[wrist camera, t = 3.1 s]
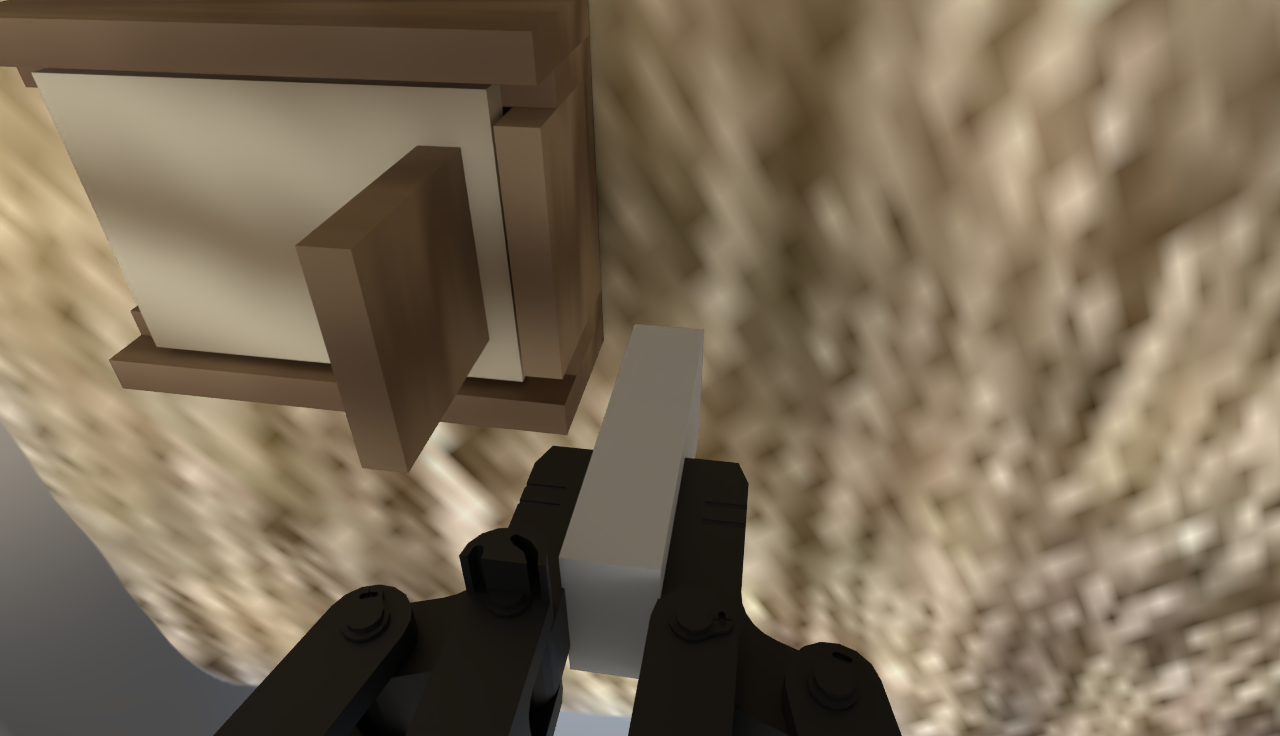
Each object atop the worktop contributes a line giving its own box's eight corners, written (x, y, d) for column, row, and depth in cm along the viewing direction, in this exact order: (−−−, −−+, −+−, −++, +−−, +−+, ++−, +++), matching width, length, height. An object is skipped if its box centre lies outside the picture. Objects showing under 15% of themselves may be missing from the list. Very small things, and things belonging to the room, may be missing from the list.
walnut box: (96, -19, 24) (-66, 16, 19) (587, -11, 22) (531, 31, 17) (221, 307, 31) (122, 388, 26) (603, 340, 29) (567, 435, 24)
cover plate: (59, 63, 21) (-204, 145, 16) (498, 78, 20) (377, 178, 14) (176, 331, 27) (9, 465, 21) (531, 364, 25) (452, 520, 19)
